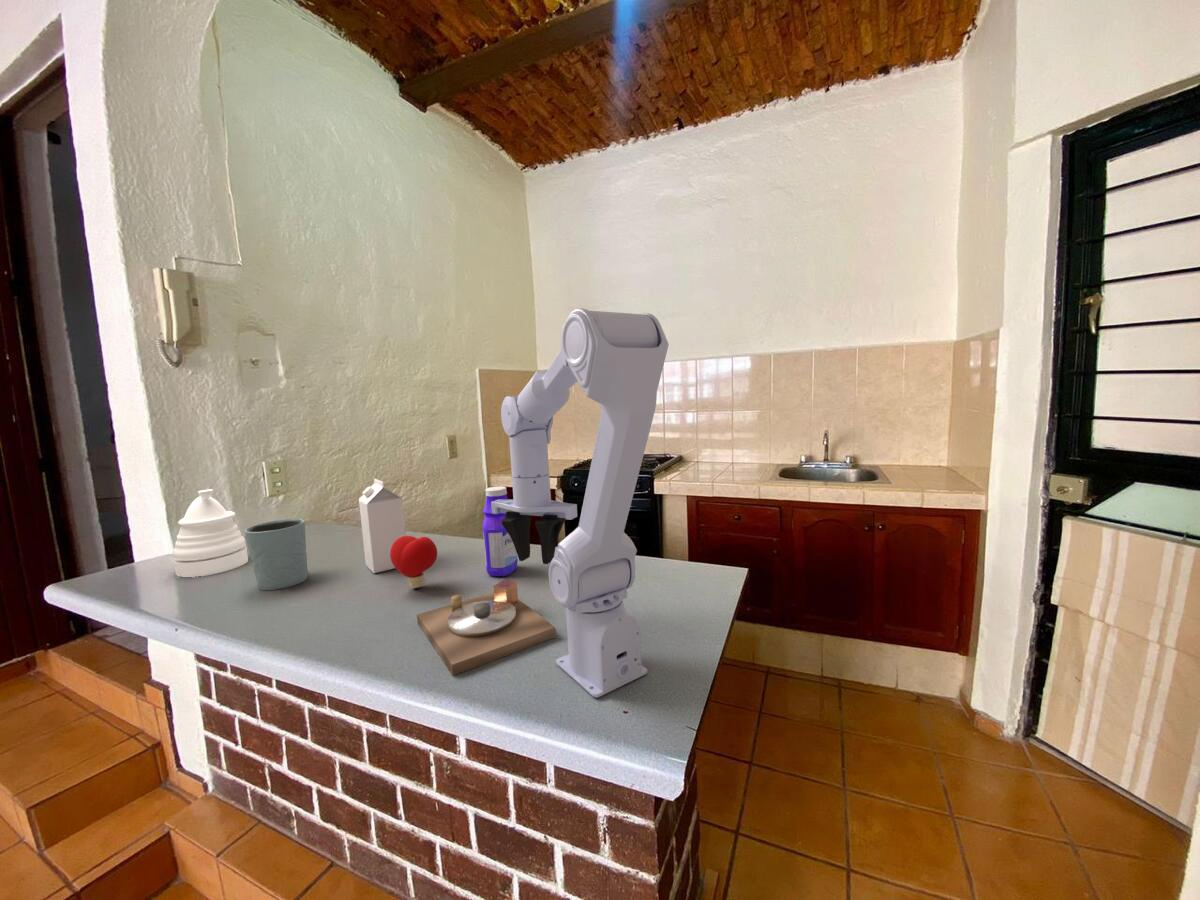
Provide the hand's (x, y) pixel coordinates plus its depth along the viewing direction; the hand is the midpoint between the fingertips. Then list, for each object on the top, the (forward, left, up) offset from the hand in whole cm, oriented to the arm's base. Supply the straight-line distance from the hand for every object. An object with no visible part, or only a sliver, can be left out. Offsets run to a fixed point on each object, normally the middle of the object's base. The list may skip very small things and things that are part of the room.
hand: (536, 560), depth 73 cm
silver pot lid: (+3, +8, -8) cm, 11 cm away
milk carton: (+44, +15, -10) cm, 47 cm away
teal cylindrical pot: (+49, +34, -10) cm, 60 cm away
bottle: (+23, -3, -10) cm, 25 cm away
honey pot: (+72, +47, -10) cm, 86 cm away
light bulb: (+26, +13, -10) cm, 30 cm away
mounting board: (+2, +9, -9) cm, 13 cm away
